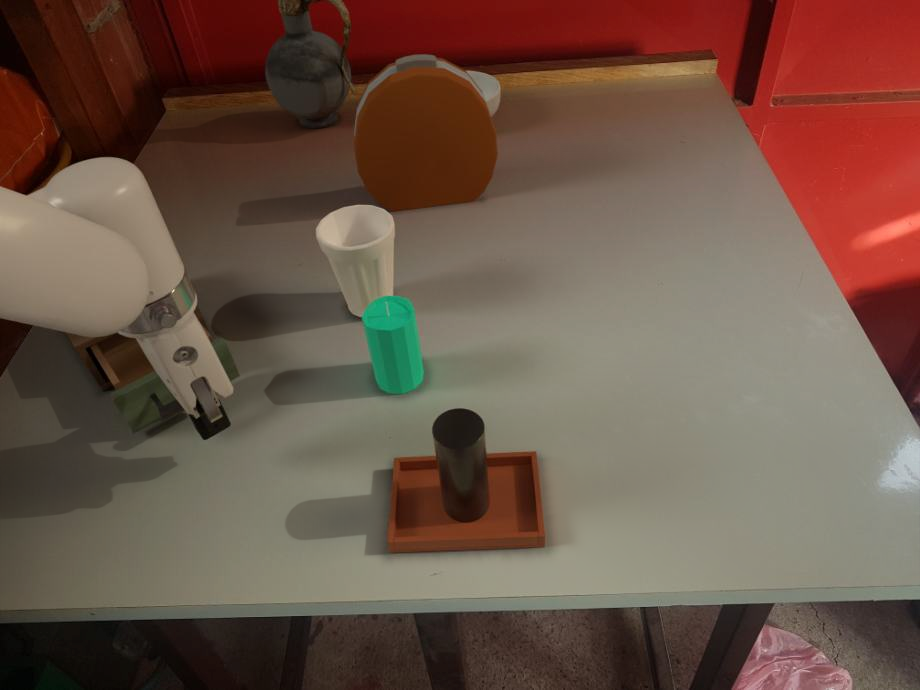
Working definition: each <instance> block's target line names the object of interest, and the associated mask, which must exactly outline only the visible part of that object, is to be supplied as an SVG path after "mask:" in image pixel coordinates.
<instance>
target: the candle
mask: <svg viewBox="0 0 920 690" xmlns="http://www.w3.org/2000/svg"><path fill="white" fill-rule="evenodd" d="M415 310H416V309H415V307H414V306H413V304H412V302H411V300H410V299H409V298H406V297H403V296H399V295H393V296H383V297H381V298H378V299H376V300H373V301H372V302H371V304H370V305H369V306H368V307H367V308H366V309H365V311H364V313H363V315H362V317H361V320H362V324H363V329H364V333H365V338H366V342H367V346H368V351H369V355H370V356H369V357H370V359H371V360H370V361H371V365H372V370H373V375H374V378H375V382H376V383H377V386H378V388H379V389H380V390H382V391H384V392H385V393H387V394H389V395H404V394H407V393H410V392H412V391H414V390H416V389H417V388H418V387H419V386H420V385H421V384H422V383H423V381H424V374H425V369H424V362H423V357H422V349H421V343H420V337H419V336H420V335H419V330H418V324H417V316H416V311H415Z"/></svg>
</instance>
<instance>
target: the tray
mask: <svg viewBox="0 0 920 690" xmlns="http://www.w3.org/2000/svg"><path fill="white" fill-rule="evenodd" d="M486 453H487V452H486ZM487 468H488V482H489V497H490V505H489V508H488V510H487V512H486V513H485V515H484V516H482V517H481V518H480V519H478V520H476V521H473V522H467V523H464V522H458V521H455V520H454V519H452V518H450V517H449V516H448V515H447V513H446V512H445V510H444V506H443V500H442V494H441V487H440V480H439V474H438V467H437V460H436V455H424V456H423V455H422V456H421V455H420V456H401V457H393V468H392V481H391V493H390V504H389V516H388V517H389V518H388V531H387V541H386V542H387V546H388V550H389V553H390V554H393V553H416V552H417V553H418V552H444V551H445V552H446V551H469V550H470V551H471V550H495V549H520V548H545V547H546V529H545V521H544V512H543V511H544V510H543V503H542V501H543V500H542V492H541V483H540V473H539V464H538V453H537V450H535V451H534V450H533V451H510V452H490V453H489V452H488V453H487Z"/></svg>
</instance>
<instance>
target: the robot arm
mask: <svg viewBox="0 0 920 690" xmlns="http://www.w3.org/2000/svg"><path fill="white" fill-rule="evenodd" d="M197 305H198V295H197V293H196V291H195V288H194V286H193V284H192V282H191V279H190V277H189V274H188V272H187V270H186V268H185V266H184V262H183V261H182V258H181V256H180V254H179V252H178V249H177V247H176V244H175V242H174V240H173V238H172V235H171V233H170V230H169V229H168V227H167V224H166V222H165V220H164V217H163V215H162V213H161V210H160V208H159V206H158V204H157V201H156V199H155V197H154V195H153V192H152V190H151V188H150V186H149V184H148V181H147V180H146V177H145V176H144V173H143V172H142V171H141V170H140V169H139V167H137V166H136V164H134V163H132V162H130V161H128V160H126V159H124V158H119V157H113V156H103V157H102V156H101V157H94V158H90V159H86V160H82V161H79V162H76V163H73V164H71V165H68V166H67V167H64V169H61V170H59V171H58V172H57V173H56V174H55V175H53V176H52V177H51V178H50V179H49V181H48V182H47V184H46V185H45V186H43V187H42V188H40V189H37V190H36V191H33V192H32V193H29V194H27V195H26V194H23V193H20V192H18V191H15V190H12V189H9V188H6V187H4V186H1V185H0V319H3V320H7V321H12V322H15V323H16V322H17V323H21V324H25V325H31V326H36V327H38V328H39V327H40V328H44V329H49V330H53V331H58V332H63V333H66V332H67V333H71V334H76V335H80V336H85V337H102V336H107V335H111V334H114V333H119V334H120V335H123V336H125V337H129V338H136V340H137V341H138V343H139V345H140V347H141V348H142V350H143V352H144V354H145V355H146V357H147V358H148V360H149V362H150V363H151V365H152V366H153V368H154V369H155V371H156V372H157V374H158V375H159V377H160V378H161V379H162V381H163V382H164V384H165V385H166V386H167V388H168V389H169V390H170V392H171V393H172V394H173V395H174V397H175V398H176V399H177V401H178V402H179V403H180V404H181V406H182V407H183V408H184V409H185V411H184V412H186V413H187V415H188V417H189V419H190V420H191V423H192V424H193V426H194V428H195V430H196V432H197V433H198V434H199V436H200V437H201V439H202V440H203V441H207V440H209V439H211V438H213V437H214V436H216V435H218V434H219V433H221V432H223V431H224V430H226V429H228V428H229V427H231V425H232V423H231V421H230V419H229V417H228V414H227V412H226V410H225V408H224V406H223V404H222V401H221V400H220V398H219V397H218V395H220V396H221V397H223V398H225V399H227V398H228V397H230V396H232V395H233V394H234V389H235V388H234V386H233V384H232V381H230V380H229V378H228V376H227V374H226V372H225V370H224V368H223V366H222V364H221V362H220V360H219V358H218V356H217V354H216V352H215V350H214V348H213V346H212V344H211V342H210V341H209V339H208V337H207V335H206V333H205V331H204V329H203V328H202V326H201V324H200V322H199V321H198V319H197V317H196V315H195V314H194V310H195V308H196V306H197ZM67 333H66V334H67ZM215 392H216V393H215Z"/></svg>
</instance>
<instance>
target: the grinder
mask: <svg viewBox="0 0 920 690" xmlns="http://www.w3.org/2000/svg"><path fill="white" fill-rule="evenodd" d="M431 433H432V440H433V447H434V452H435V456H436V460H437V467H438V474H439V480H440V487H441V494H442V500H443V506H444V510H445V512H446V513H447V515H448V516H449V517H450V518H452V519H454V520H455V521H458V522H464V523H467V522H473V521H476V520H478V519H480V518H481V517H482V516H484V515H485V513H486V512H487V510H488V508H489V505H490V497H489V482H488V468H487V441H486V426H485V422H484V420H483V418H482V417H481V416H480V414H478V413H477V412H475V411H473V410H471V409H469V408H461V407H456V408H451V409H448V410H445V411H443V412H442V413H441V414H439V415H437V417H436V418H435V420H434V421H433V423H432V428H431Z"/></svg>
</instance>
